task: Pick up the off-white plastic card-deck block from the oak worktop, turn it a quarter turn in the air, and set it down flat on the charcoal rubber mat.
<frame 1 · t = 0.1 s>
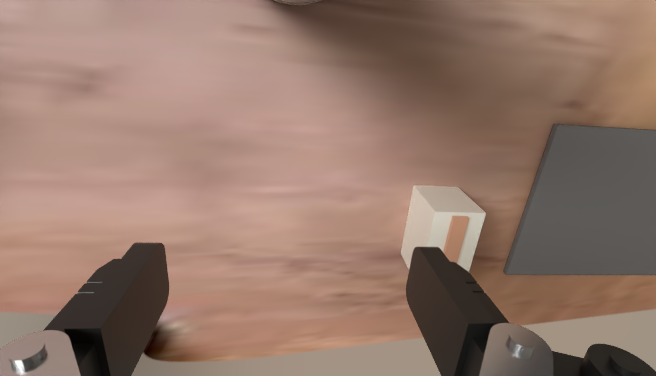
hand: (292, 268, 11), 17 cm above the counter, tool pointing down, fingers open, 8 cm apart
deck block: (427, 220, 32), on the counter
rubber mat: (623, 207, 33), on the counter
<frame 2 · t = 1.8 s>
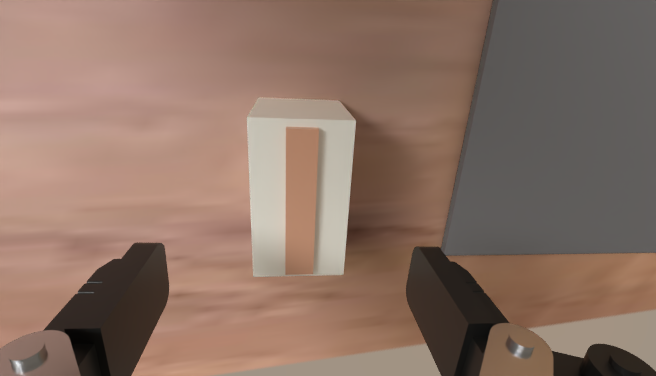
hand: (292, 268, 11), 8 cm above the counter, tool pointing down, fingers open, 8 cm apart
deck block: (298, 164, 19), on the counter
rubber mat: (629, 138, 20), on the counter
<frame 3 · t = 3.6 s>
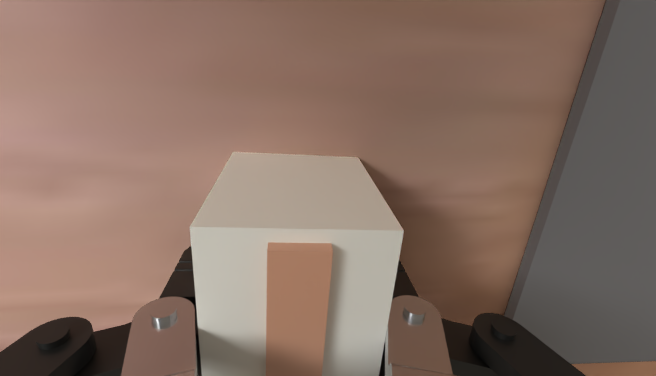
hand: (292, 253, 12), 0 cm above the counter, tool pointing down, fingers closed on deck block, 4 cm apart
deck block: (292, 248, 12), on the counter, touching gripper
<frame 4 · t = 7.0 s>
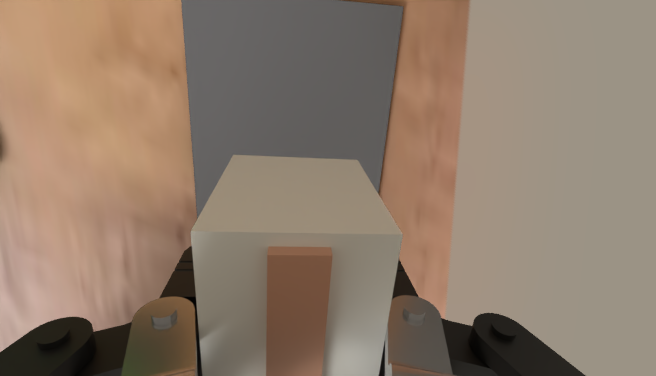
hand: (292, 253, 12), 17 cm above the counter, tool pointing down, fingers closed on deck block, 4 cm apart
deck block: (292, 250, 12), point 16 cm above the counter, touching gripper
rubber mat: (291, 139, 27), on the counter
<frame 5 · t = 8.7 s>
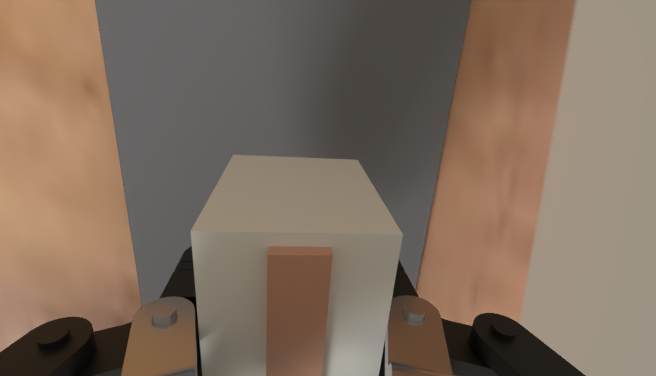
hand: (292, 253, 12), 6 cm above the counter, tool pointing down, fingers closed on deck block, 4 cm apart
deck block: (292, 250, 12), point 5 cm above the counter, touching gripper
rubber mat: (287, 191, 17), on the counter
when the fingers open (2 cm above the counter, at t = 10.3 s): deck block drops 1 cm, resting on rubber mat.
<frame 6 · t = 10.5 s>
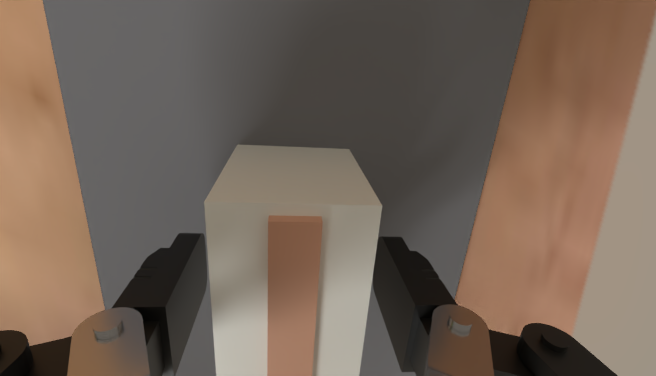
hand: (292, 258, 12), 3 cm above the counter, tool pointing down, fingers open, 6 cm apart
deck block: (291, 232, 14), resting on rubber mat
rubber mat: (292, 224, 14), on the counter
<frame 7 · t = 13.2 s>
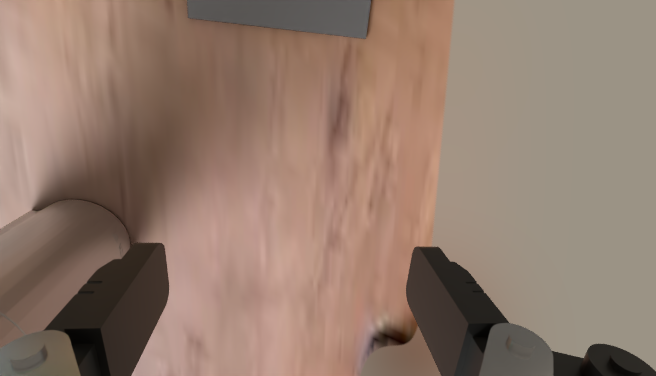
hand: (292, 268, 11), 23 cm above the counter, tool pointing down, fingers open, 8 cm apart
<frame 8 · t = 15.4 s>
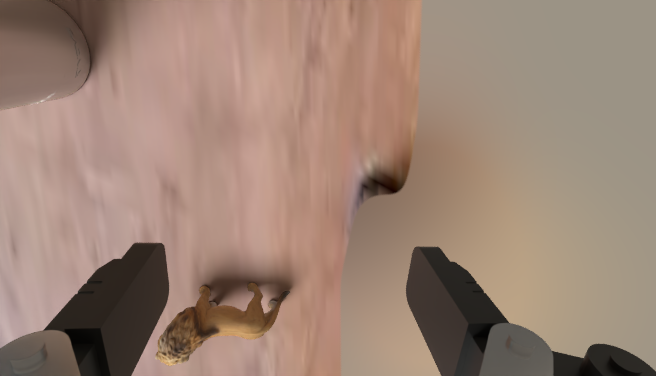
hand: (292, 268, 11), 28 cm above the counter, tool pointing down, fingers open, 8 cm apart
lion figurine: (230, 298, 45), on the counter
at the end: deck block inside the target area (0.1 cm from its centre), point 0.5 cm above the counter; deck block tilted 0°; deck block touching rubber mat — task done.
